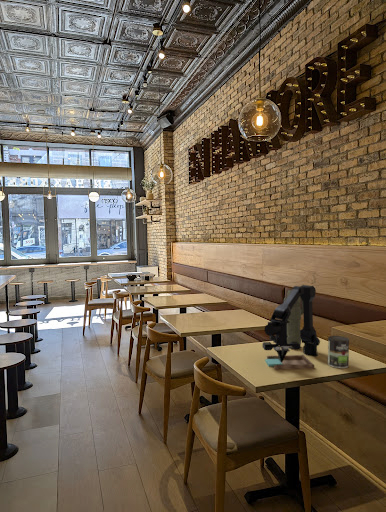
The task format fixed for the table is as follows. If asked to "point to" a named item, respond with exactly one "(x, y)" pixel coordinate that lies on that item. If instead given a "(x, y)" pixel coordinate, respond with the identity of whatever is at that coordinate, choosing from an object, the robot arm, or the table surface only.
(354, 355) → the table surface
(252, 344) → the table surface
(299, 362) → the brown flat tray
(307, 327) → the robot arm
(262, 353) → the table surface
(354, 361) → the table surface
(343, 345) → the coffee can
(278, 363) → the cover plate
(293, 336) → the thermos
